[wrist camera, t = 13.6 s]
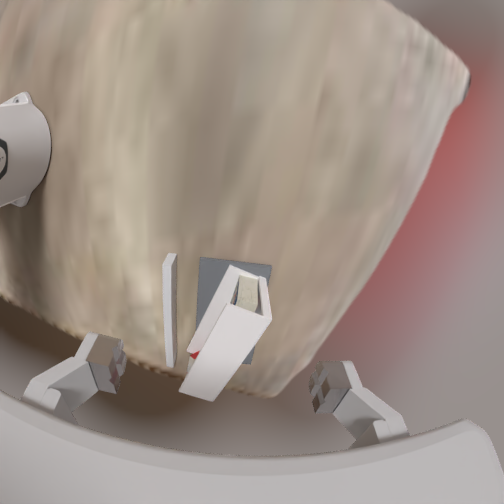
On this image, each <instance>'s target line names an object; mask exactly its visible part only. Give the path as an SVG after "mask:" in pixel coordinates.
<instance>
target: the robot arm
mask: <svg viewBox="0 0 504 504" xmlns="http://www.w3.org/2000/svg"><path fill="white" fill-rule="evenodd" d="M18 101H19V102H18ZM50 152H51V138H50V131H49V127H48V124H47V121H46V119H45V117H44V115H43V114H42V113H41V111H40V110H39V109H37V108H36V107H35V106H34V105H33V103H32V100H31V97H30V95H29V93H28V92H22V93H20V94H18V95H16V96H14V97H13V98H11V99H9V100H7V101H6V102H4V103H2V104H1V105H0V207H2V206H4V205H7V204H9V203H10V204H13V205H16V206H18V207H23V206H25V205H26V204H27V203H28V200H29V198H30V195H31V193H32V191H33V190H34V189H35V188H36V187H37V186H38V185H39V183H40V182H41V181H42V179H43V177H44V175H45V173H46V170H47V168H48V164H49V159H50ZM123 347H124V344H123V340H121V339H118V338H114V337H110V336H106V335H102V334H97V333H94V332H89V333H87V335H86V337H85V338H84V340H83V342H82V344H81V346H80V347H79V349H78V351H77V353H76V355H75V357H74V358H73V357H70V358H68V359H67V360H65V361H63V362H61V363H59V364H57V365H56V366H54V367H52V368H50V369H48V370H47V371H45V372H43V373H41V374H40V375H38V376H36V377H34V378H32V379H31V381H30V383H29V385H28V387H27V389H26V390H25V392H24V394H23V396H22V398H21V400H19V399H16V398H15V397H13V396H11V395H9V394H7V393H5V392H4V391H2V390H0V504H504V474H503V471H502V468H501V465H500V463H499V460H498V457H497V454H496V452H495V449H494V447H493V444H492V442H491V440H490V438H489V436H488V434H487V433H486V432H485V431H484V430H483V429H482V428H481V427H479V426H478V425H476V424H475V423H473V422H472V421H470V420H468V419H460V420H457V421H454V422H452V423H449V424H446V425H443V426H441V427H438V428H435V429H432V430H429V431H426V432H422V433H419V434H416V435H413V436H410V435H409V432H408V430H407V427H406V425H405V423H404V420H403V418H402V416H401V415H400V414H399V413H397V412H396V411H395V410H394V409H392V408H391V407H390V406H388V405H387V404H386V403H384V402H383V401H382V400H381V399H379V398H378V397H377V396H376V395H374V394H373V393H372V392H371V391H369V390H368V389H367V388H363V386H362V384H361V382H360V379H359V377H358V374H357V372H356V369H355V367H354V365H353V363H352V362H351V361H319V362H318V363H317V365H316V367H315V368H316V371H315V372H314V373H312V375H311V377H310V381H309V390H310V394H311V395H312V396H313V397H314V399H313V401H312V403H313V407H314V411H315V413H333V415H334V416H335V417H336V418H337V419H338V420H339V421H340V423H341V424H342V425H343V426H344V427H345V428H346V429H347V430H348V431H349V432H350V433H351V434H352V435H353V437H354V438H355V439H356V441H355V442H354V443H353V444H352V445H351V446H350V447H349V449H347V450H340V451H333V452H324V453H316V454H315V453H314V454H302V455H283V456H241V455H223V454H210V453H200V452H192V451H184V450H177V449H171V448H165V447H159V446H154V445H149V444H144V443H140V442H135V441H131V440H127V439H123V438H119V437H115V436H112V435H108V434H104V433H101V432H98V431H95V430H92V429H88V428H86V427H83V426H80V425H78V423H77V421H76V419H75V418H74V416H73V414H72V412H73V411H74V410H75V409H77V408H78V407H79V406H80V405H81V404H83V403H84V402H85V401H86V400H88V399H89V398H90V397H91V396H92V395H94V394H95V393H96V392H97V391H98V390H102V391H106V392H110V393H115V394H116V393H117V391H118V388H119V385H120V378H119V377H120V376H121V375H123V373H124V370H125V366H126V355H125V352H124V351H123Z"/></svg>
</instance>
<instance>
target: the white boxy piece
mask: <svg viewBox="0 0 504 504" xmlns="http://www.w3.org/2000/svg"><path fill="white" fill-rule="evenodd" d="M271 321H272V315H271V309H270V302H269V295H268V288H267V282H266V278H264V277H262V276H259V277H258V276H256V275H254V274H251V273H249V272H246V271H244V270H241V269H239V268H237V267H234V266H232V265H229V267H228V269H227V271H226V273H225V275H224V277H223V279H222V281H221V283H220V285H219V286H218V288H217V290H216V292H215V294H214V296H213V298H212V300H211V302H210V304H209V306H208V308H207V310H206V312H205V314H204V316H203V318H202V320H201V322H200V324H199V326H198V328H197V330H196V332H195V334H194V336H193V338H192V340H191V342H190V344H189V346H188V348H187V352H190V353H193V354H192V355H190V358H189V363H188V368H187V374H186V378H185V379H184V381H183V383H182V385H181V387H180V388H179V392H182V393H185V394H188V395H191V396H194V397H197V398H201V399H204V400H208V401H212V402H213V401H214V400H215V399H216V397H217V396H218V395H219V393H220V392H221V391H222V389H223V388H224V387H225V385H226V384H227V383H228V381H229V380H230V379H231V377H232V376H233V374H234V373H235V372H236V370H237V369H238V368H239V366H240V365H241V363H242V362H243V361H244V359H245V358H246V357H247V355H248V354H249V352H250V351H251V350H252V348H253V347H254V345H255V344H256V342H257V341H258V340H259V338H260V337H261V335H262V334H263V332H264V331H265V329H266V328H267V327H268V325H269V324H270V322H271Z"/></svg>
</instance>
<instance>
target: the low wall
mask: <svg viewBox="0 0 504 504" xmlns="http://www.w3.org/2000/svg"><path fill="white" fill-rule="evenodd" d="M176 266H177V254H173V253H168V255H167V257H166V259H165V261H164V263H163V313H164V334H165V350H166V363H167V367H173V368H174V364H175V359H176V355H177V342H176Z"/></svg>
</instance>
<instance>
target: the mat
mask: <svg viewBox="0 0 504 504" xmlns="http://www.w3.org/2000/svg"><path fill="white" fill-rule="evenodd" d="M229 265H232V266H234V267H237V268H239V269H241V270H244V271H246V272H249V273H251V274H254V275H256V276H258V277H259V276H262V277H264V278H266V282H267V288H268V283H269V279H270V274H271V269H272V266H271V265H263V264H255V263H246V262H238V261H229V260H221V259H213V258H205V257H200V266H199V281H198V297H197V317H196V330H197V328H198V326H199V324H200V322H201V320H202V318H203V316H204V314H205V312H206V310H207V308H208V306H209V304H210V302H211V300H212V298H213V296H214V294H215V292H216V290H217V288H218V286H219V285H220V283H221V281H222V279H223V277H224V275H225V273H226V271H227V269H228V267H229ZM254 348H255V345H254V347H253V348H252V350H251V351H250V352H249V354H248V355H247V357H246V358H245V359H244V361H243V362H242V363H241V364H251V361H252V357H253V352H254Z"/></svg>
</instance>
